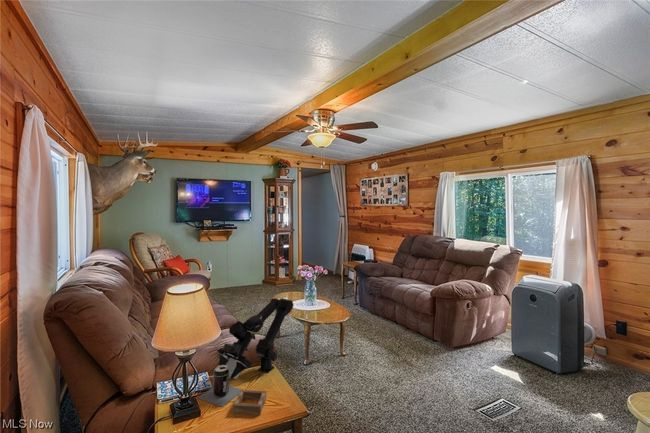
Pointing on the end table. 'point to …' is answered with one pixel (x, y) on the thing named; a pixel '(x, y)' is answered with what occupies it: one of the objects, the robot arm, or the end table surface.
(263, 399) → the pocket frame
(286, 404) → the end table surface
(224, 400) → the slate mat
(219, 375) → the beverage can
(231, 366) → the supplement box
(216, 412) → the end table surface
